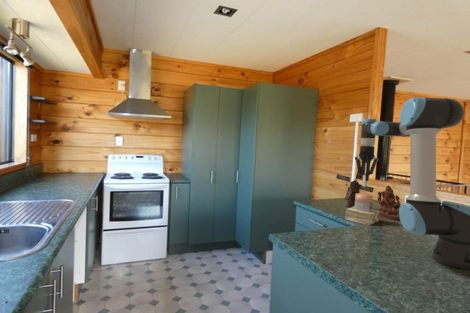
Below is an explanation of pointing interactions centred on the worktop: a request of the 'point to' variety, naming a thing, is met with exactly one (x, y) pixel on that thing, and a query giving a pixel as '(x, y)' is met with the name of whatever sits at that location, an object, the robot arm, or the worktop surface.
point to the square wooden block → (362, 216)
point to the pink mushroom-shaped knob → (363, 198)
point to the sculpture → (389, 204)
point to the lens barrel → (363, 206)
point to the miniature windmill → (353, 188)
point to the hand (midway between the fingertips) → (364, 186)
